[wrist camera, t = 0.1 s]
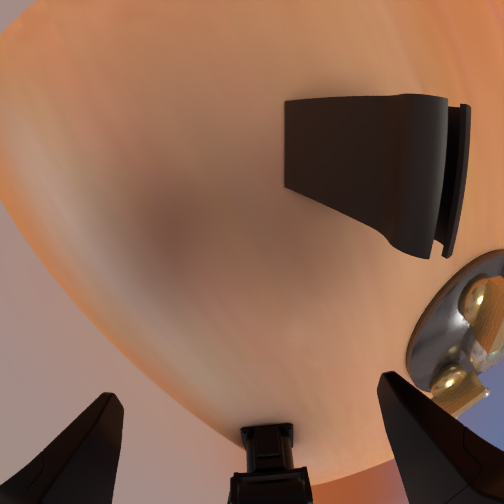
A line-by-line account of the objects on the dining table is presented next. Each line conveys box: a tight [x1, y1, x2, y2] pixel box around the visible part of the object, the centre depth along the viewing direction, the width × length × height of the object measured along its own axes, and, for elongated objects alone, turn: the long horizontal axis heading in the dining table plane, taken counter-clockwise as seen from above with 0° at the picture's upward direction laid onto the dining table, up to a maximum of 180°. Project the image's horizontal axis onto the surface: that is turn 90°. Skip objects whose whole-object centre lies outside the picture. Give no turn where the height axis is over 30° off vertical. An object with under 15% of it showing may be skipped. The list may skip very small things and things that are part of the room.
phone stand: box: [285, 94, 471, 259], centre depth 14 cm, size 9×6×12 cm, turn 90°
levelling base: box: [406, 250, 504, 392], centre depth 24 cm, size 20×20×7 cm
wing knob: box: [429, 363, 490, 418], centre depth 26 cm, size 7×5×6 cm
